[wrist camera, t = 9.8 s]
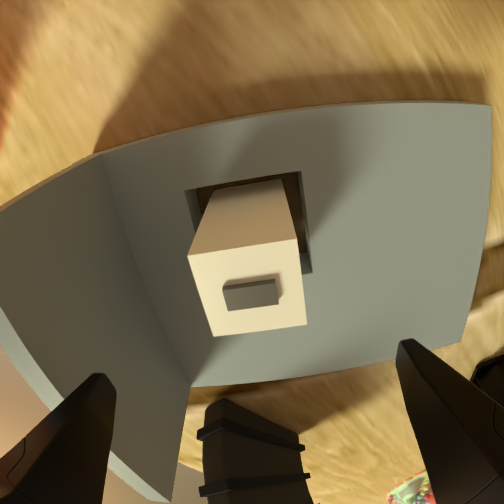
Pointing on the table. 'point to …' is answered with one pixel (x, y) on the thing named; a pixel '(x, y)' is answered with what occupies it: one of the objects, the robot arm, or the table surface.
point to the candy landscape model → (413, 490)
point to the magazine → (250, 459)
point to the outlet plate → (182, 280)
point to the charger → (248, 261)
